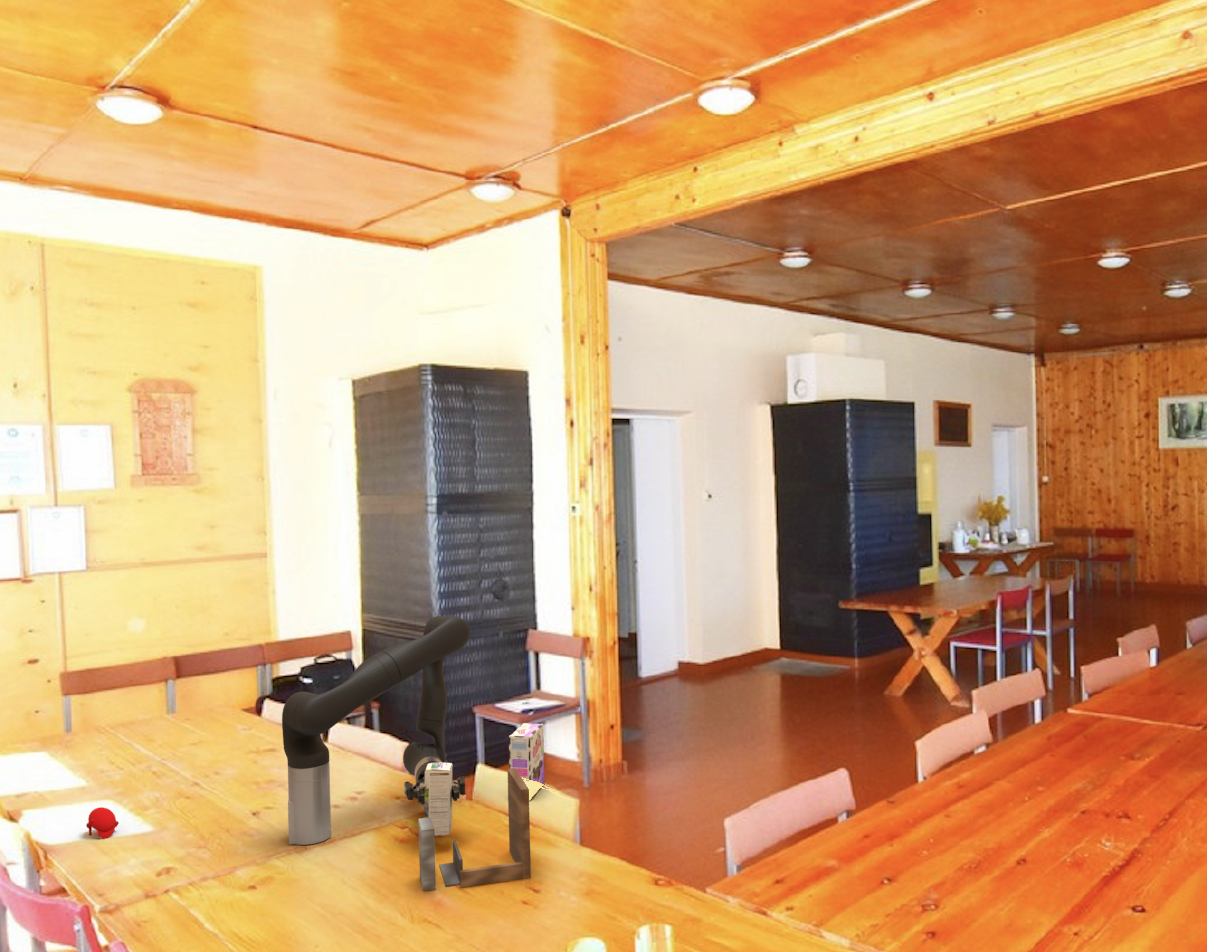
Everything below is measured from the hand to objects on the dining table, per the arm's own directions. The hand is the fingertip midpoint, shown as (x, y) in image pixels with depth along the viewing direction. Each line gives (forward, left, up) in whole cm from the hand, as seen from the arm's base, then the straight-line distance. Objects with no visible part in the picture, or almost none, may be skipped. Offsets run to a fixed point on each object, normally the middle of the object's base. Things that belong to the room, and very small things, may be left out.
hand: (439, 798), depth 207 cm
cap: (-75, +39, -12) cm, 85 cm away
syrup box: (0, +2, -8) cm, 9 cm away
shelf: (+5, -13, -12) cm, 18 cm away
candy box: (+26, +32, -12) cm, 43 cm away
